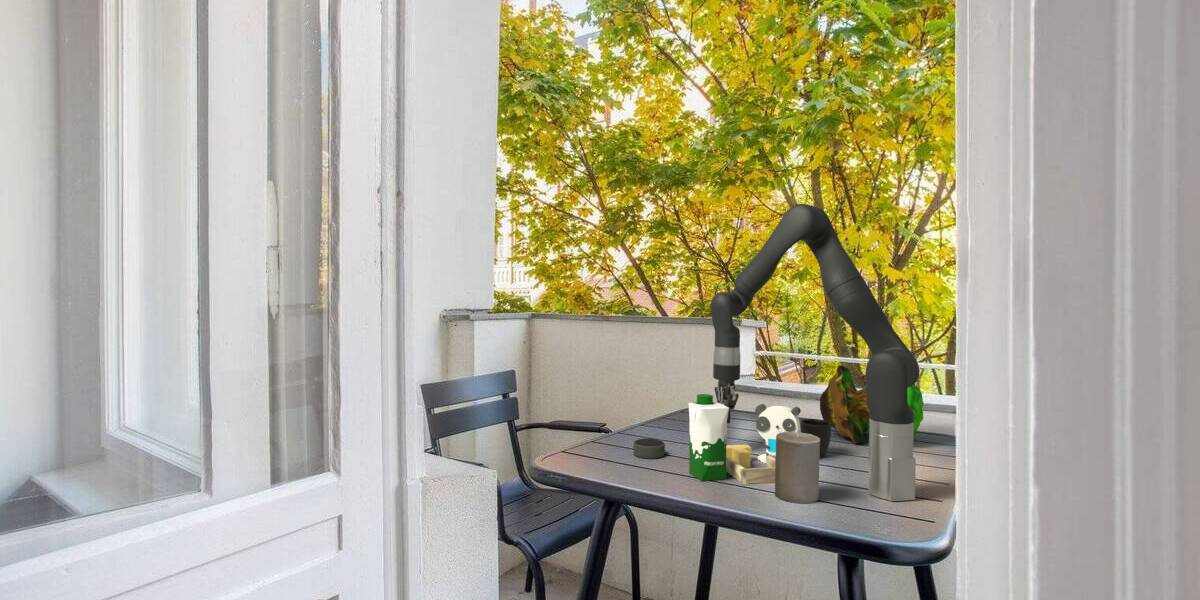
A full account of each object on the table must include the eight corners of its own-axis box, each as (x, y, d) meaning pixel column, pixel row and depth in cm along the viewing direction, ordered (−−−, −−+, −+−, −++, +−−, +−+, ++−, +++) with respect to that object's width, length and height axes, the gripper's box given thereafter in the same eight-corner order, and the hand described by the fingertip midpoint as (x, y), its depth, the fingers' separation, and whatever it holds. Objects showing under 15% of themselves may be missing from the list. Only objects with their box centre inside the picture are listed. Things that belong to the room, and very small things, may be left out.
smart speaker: (640, 461, 166) (640, 446, 166) (628, 452, 175) (628, 439, 174) (670, 458, 169) (670, 444, 169) (657, 450, 177) (657, 436, 177)
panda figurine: (750, 462, 165) (751, 407, 165) (760, 452, 175) (761, 400, 175) (796, 468, 160) (797, 412, 159) (803, 458, 170) (804, 404, 169)
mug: (815, 447, 181) (816, 416, 181) (836, 459, 169) (836, 425, 169) (789, 448, 180) (789, 416, 180) (808, 459, 168) (808, 425, 168)
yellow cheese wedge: (758, 467, 161) (759, 452, 161) (730, 468, 159) (730, 453, 159) (746, 458, 169) (746, 444, 169) (719, 460, 167) (719, 445, 167)
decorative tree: (836, 462, 202) (936, 451, 190) (820, 444, 181) (931, 430, 168) (822, 384, 215) (914, 369, 202) (805, 359, 193) (907, 340, 181)
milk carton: (715, 469, 158) (716, 393, 158) (732, 480, 150) (733, 399, 149) (684, 472, 156) (685, 394, 156) (699, 483, 147) (700, 400, 147)
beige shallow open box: (788, 482, 149) (789, 467, 149) (742, 484, 147) (742, 469, 147) (769, 469, 159) (769, 455, 159) (725, 471, 157) (726, 457, 157)
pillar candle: (766, 495, 139) (767, 430, 138) (787, 486, 145) (789, 423, 145) (806, 507, 132) (808, 439, 131) (826, 496, 138) (828, 431, 138)
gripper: (748, 365, 167) (747, 428, 168) (730, 359, 180) (729, 417, 181) (722, 365, 166) (721, 428, 166) (706, 359, 179) (705, 418, 179)
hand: (725, 422), depth 173 cm, fingers closed
